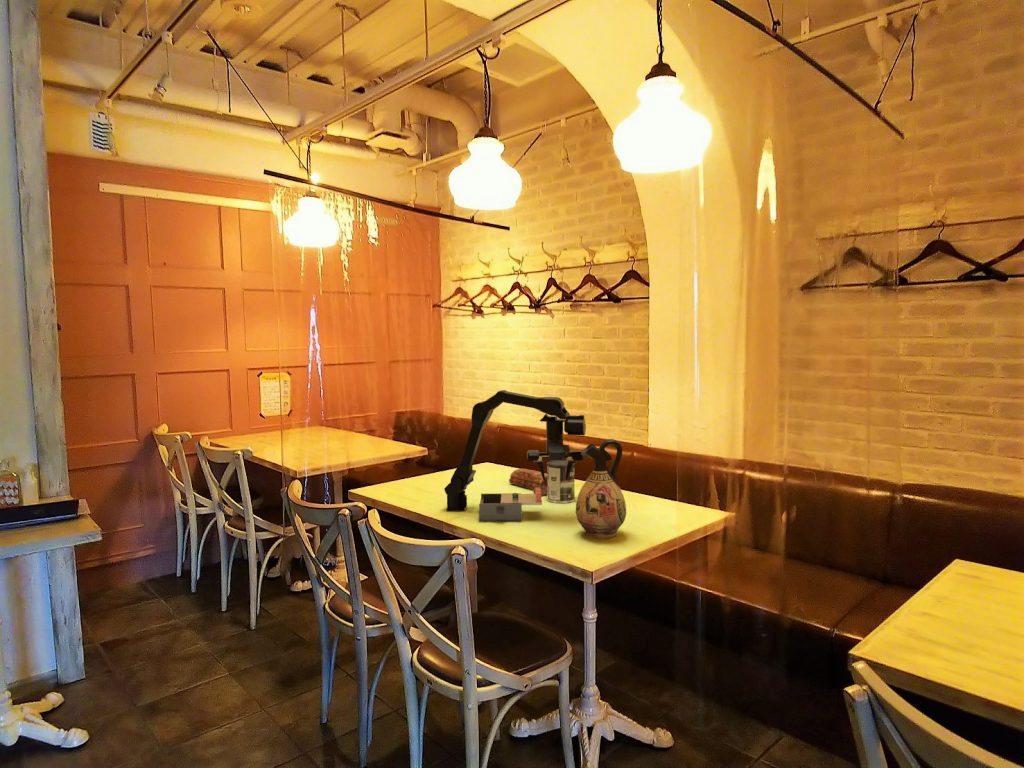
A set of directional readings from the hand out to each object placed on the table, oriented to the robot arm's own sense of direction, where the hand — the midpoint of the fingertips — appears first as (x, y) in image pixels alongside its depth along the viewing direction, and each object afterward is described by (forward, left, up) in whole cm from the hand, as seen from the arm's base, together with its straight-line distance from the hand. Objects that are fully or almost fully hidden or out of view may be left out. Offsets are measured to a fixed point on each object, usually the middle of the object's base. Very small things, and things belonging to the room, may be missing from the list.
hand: (555, 480), depth 217 cm
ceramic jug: (+13, -21, -12) cm, 28 cm away
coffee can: (+3, +21, -12) cm, 24 cm away
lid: (-12, 0, -7) cm, 13 cm away
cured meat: (-5, +39, -13) cm, 41 cm away
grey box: (-19, 0, -12) cm, 22 cm away
